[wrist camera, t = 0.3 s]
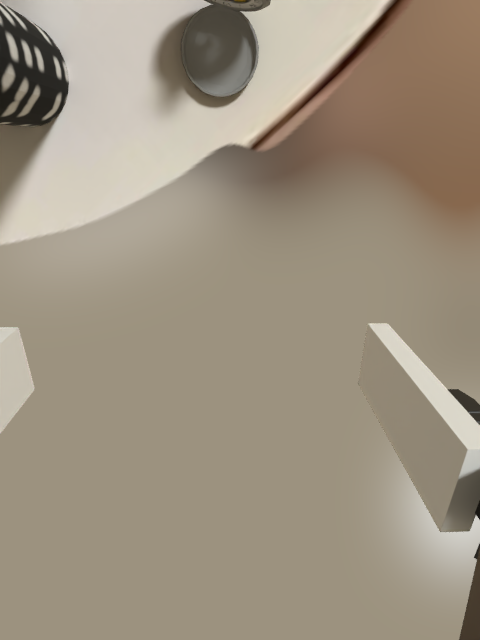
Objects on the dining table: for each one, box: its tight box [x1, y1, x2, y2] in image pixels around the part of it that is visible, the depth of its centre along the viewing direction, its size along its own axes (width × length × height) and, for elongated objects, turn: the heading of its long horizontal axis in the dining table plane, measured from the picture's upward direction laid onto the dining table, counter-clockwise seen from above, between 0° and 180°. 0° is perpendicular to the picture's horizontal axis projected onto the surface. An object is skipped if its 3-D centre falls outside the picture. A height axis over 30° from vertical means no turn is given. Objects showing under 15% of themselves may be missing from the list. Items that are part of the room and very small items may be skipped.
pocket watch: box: [181, 0, 271, 97], centre depth 29 cm, size 8×8×10 cm
